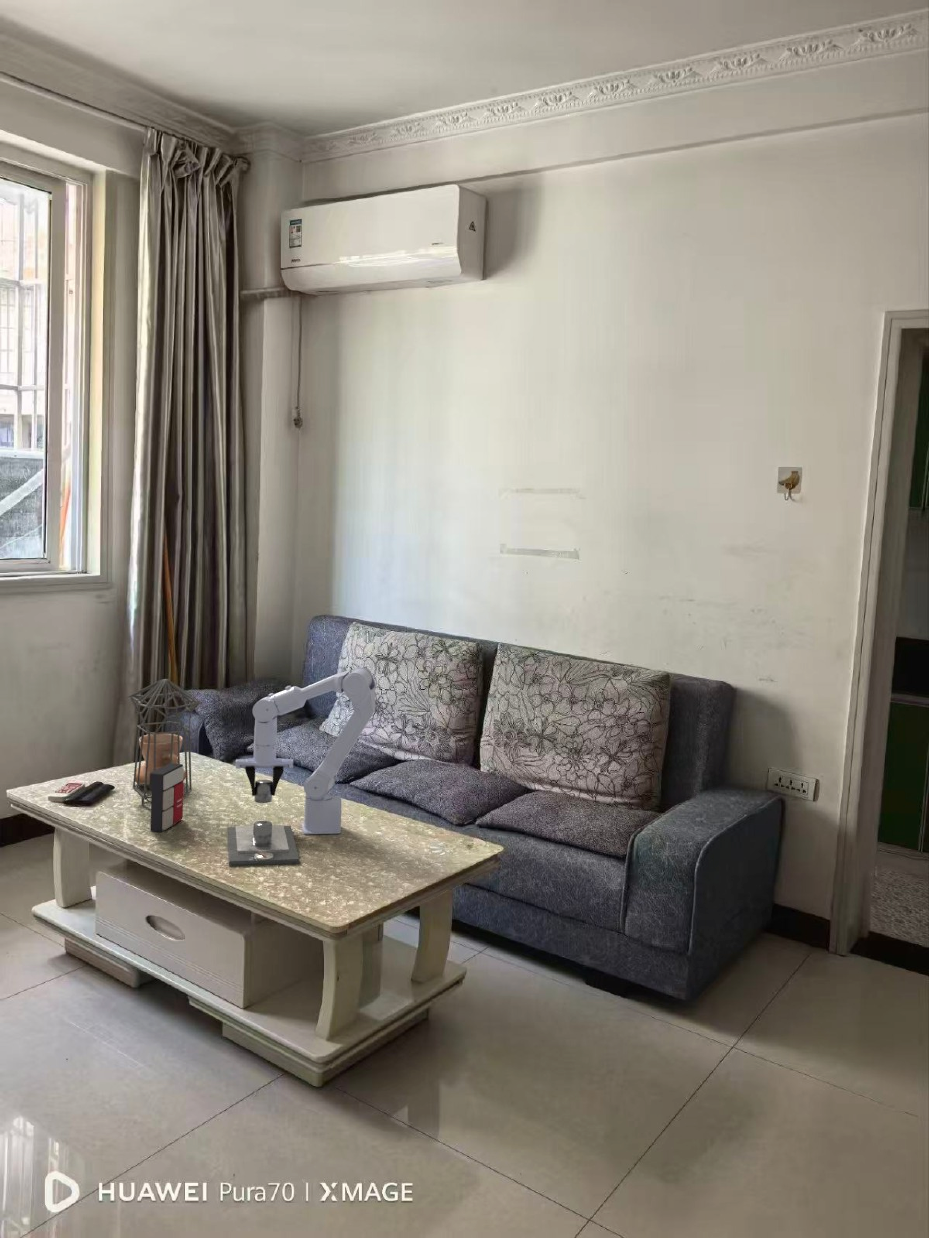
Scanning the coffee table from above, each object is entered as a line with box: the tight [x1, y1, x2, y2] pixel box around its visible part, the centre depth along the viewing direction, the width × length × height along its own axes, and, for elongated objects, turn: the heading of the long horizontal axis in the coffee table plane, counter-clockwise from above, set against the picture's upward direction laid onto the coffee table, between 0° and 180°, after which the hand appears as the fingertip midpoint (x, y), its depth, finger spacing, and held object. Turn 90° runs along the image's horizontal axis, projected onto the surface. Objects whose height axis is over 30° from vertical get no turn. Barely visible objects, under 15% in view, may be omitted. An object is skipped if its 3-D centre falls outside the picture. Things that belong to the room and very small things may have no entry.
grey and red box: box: [149, 763, 185, 833], centre depth 254 cm, size 11×4×15 cm, turn 168°
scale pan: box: [234, 824, 289, 853], centre depth 245 cm, size 12×18×1 cm, turn 14°
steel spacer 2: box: [253, 820, 273, 847], centre depth 241 cm, size 4×4×5 cm
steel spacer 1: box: [254, 779, 273, 804], centre depth 259 cm, size 4×4×5 cm
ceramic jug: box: [135, 733, 186, 789], centre depth 287 cm, size 18×14×14 cm
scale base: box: [226, 825, 300, 867], centre depth 244 cm, size 16×24×2 cm, turn 14°
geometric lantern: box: [126, 678, 202, 811], centre depth 268 cm, size 16×16×35 cm
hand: (263, 794), depth 259 cm, fingers closed on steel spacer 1, 4 cm apart
